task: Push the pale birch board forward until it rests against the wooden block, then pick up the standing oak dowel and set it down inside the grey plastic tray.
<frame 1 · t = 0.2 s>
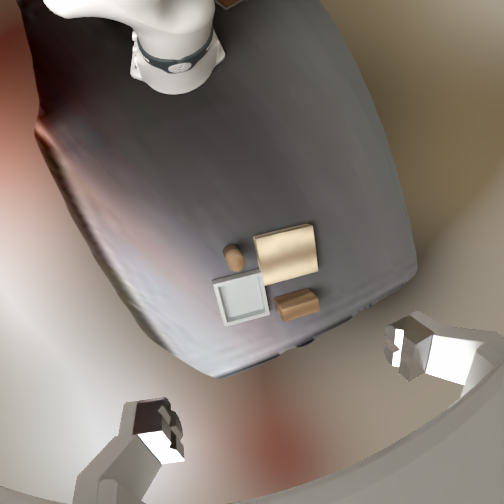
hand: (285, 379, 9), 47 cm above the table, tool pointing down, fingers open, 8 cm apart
tray: (240, 295, 60), on the table
board: (284, 251, 60), on the table
wooden block: (291, 298, 62), on the table
dowel: (230, 251, 57), on the table
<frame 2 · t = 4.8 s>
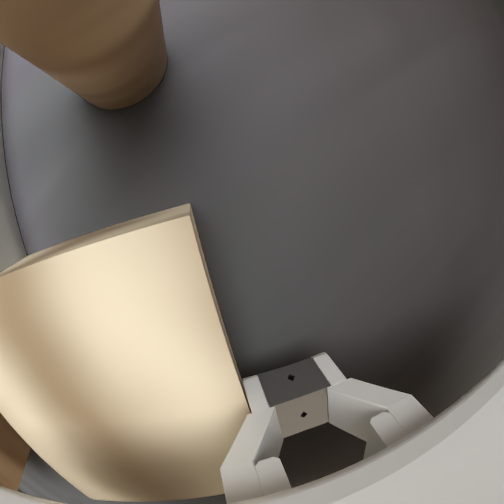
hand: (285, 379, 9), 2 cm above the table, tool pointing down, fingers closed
board: (118, 380, 10), on the table, touching gripper
dowel: (121, 67, 7), on the table
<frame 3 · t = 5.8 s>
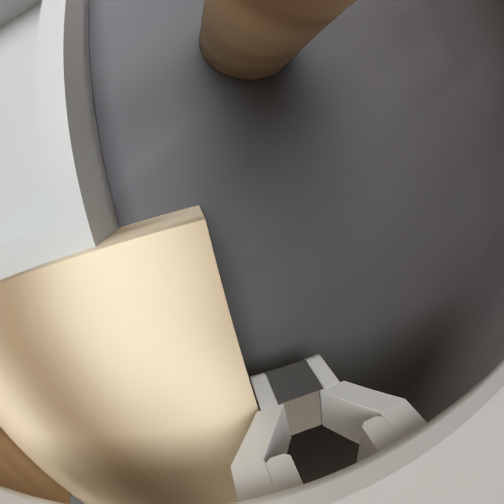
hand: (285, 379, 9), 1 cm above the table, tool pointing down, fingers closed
board: (121, 391, 9), on the table, touching wooden block, gripper
wooden block: (16, 401, 8), on the table
dowel: (246, 40, 7), on the table
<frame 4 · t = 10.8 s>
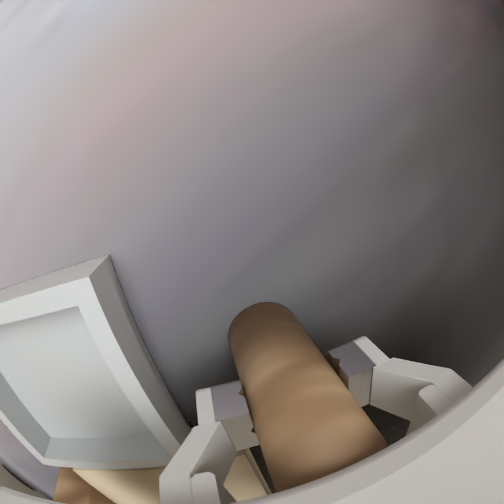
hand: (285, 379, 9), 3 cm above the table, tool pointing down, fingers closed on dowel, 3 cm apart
tray: (65, 375, 10), on the table
board: (187, 474, 15), on the table
wooden block: (109, 483, 13), on the table
dowel: (263, 333, 12), on the table, touching gripper
when the fingers open (6 cm above the table, at t = 15.0 s): dowel drops 2 cm, resting on tray.
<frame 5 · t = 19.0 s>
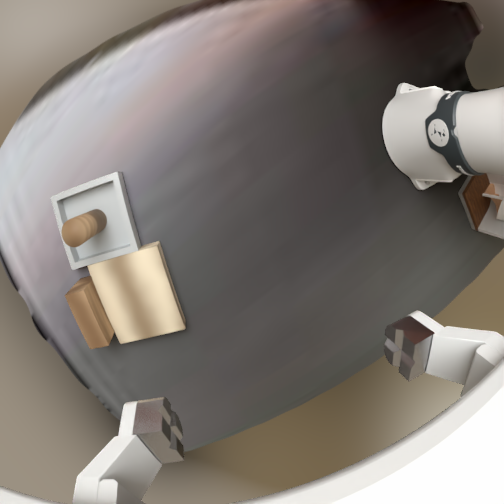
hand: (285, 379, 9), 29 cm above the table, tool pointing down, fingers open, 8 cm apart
tray: (97, 219, 33), on the table
board: (139, 290, 37), on the table
wooden block: (99, 301, 35), on the table
dowel: (96, 220, 32), point 1 cm above the table, touching tray
display case: (475, 194, 46), on the table
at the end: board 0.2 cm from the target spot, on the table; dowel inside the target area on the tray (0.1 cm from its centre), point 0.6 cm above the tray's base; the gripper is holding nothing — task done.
